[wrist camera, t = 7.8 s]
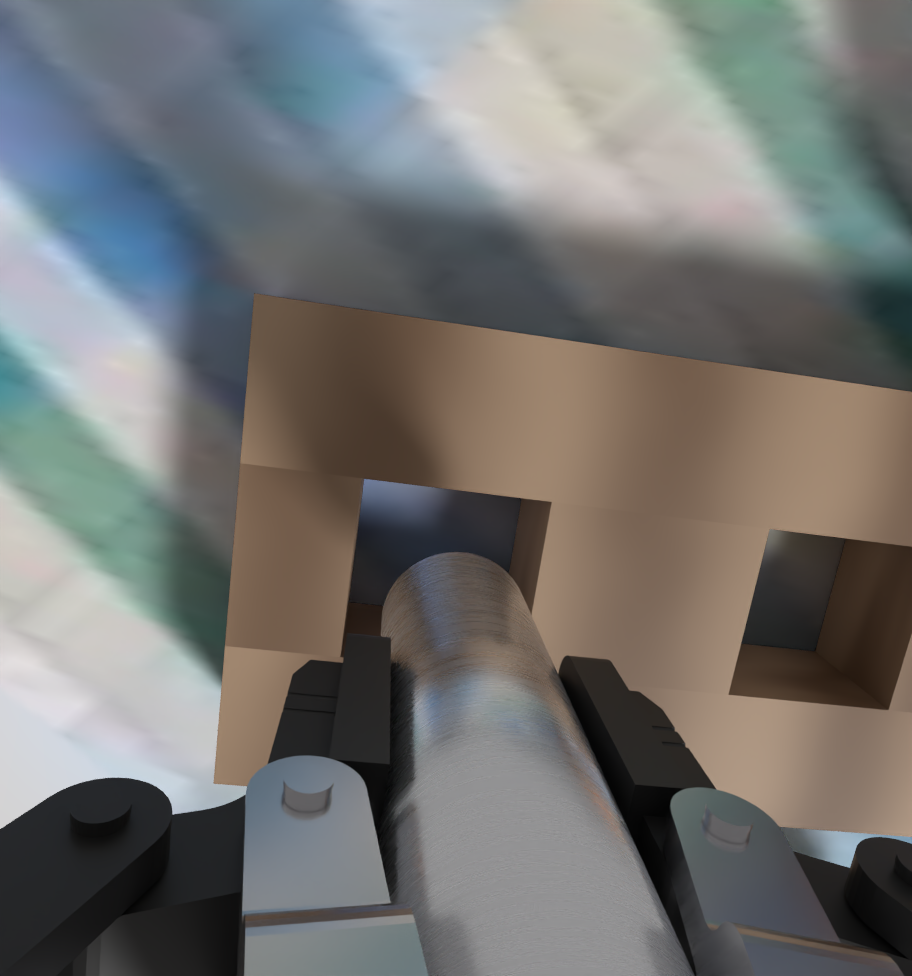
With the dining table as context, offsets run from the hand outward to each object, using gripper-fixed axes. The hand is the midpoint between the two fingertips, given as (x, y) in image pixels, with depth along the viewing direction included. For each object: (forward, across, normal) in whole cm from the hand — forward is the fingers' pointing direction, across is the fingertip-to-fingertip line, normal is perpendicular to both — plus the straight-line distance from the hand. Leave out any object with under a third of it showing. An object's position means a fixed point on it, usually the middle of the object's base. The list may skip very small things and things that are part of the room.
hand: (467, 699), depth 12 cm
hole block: (+9, -5, 0) cm, 10 cm away
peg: (+3, 0, 0) cm, 3 cm away
